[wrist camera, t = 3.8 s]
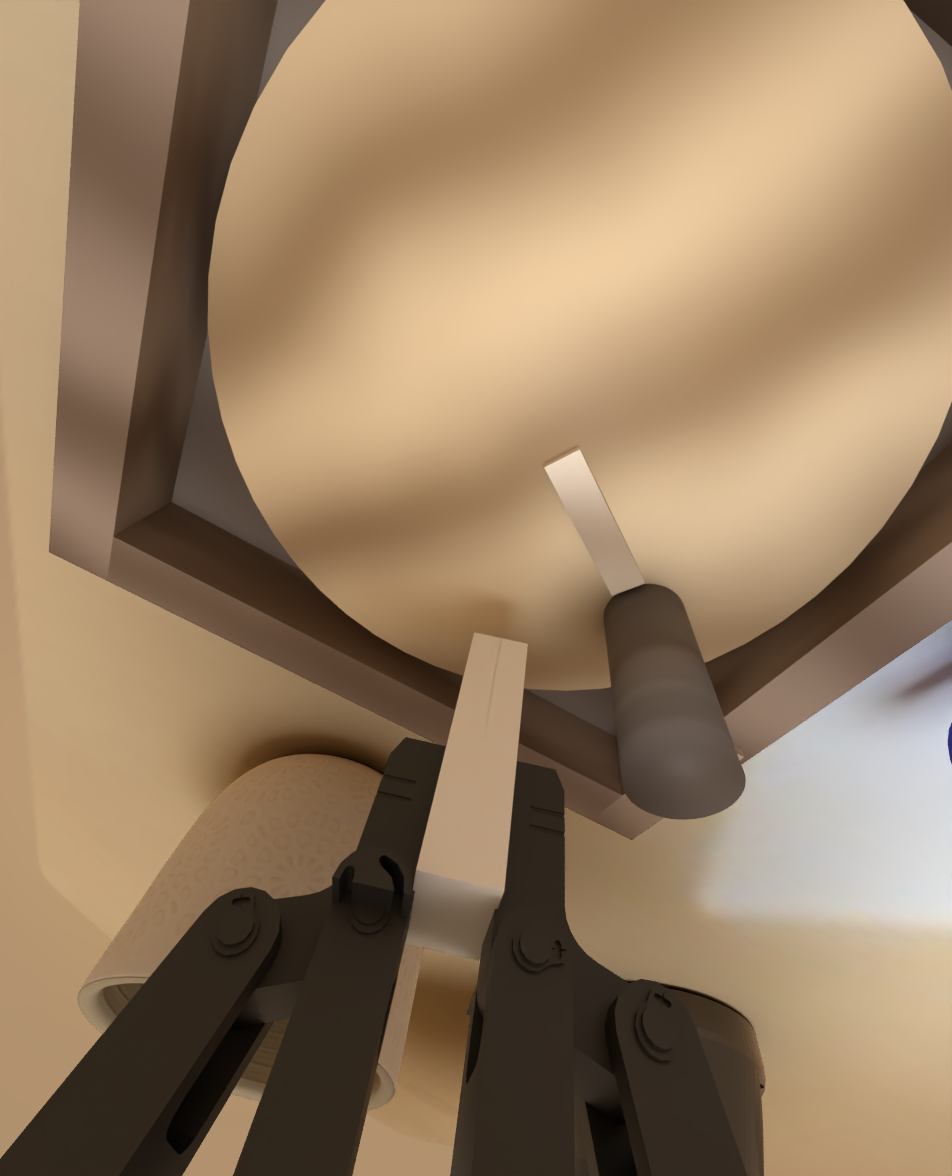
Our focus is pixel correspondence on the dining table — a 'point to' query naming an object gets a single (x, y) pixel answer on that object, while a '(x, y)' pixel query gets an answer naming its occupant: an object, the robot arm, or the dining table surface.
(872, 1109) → the dining table surface
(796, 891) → the dining table surface
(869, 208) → the dial
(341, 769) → the planter
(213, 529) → the brown wooden tray
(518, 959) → the robot arm
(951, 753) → the mug
